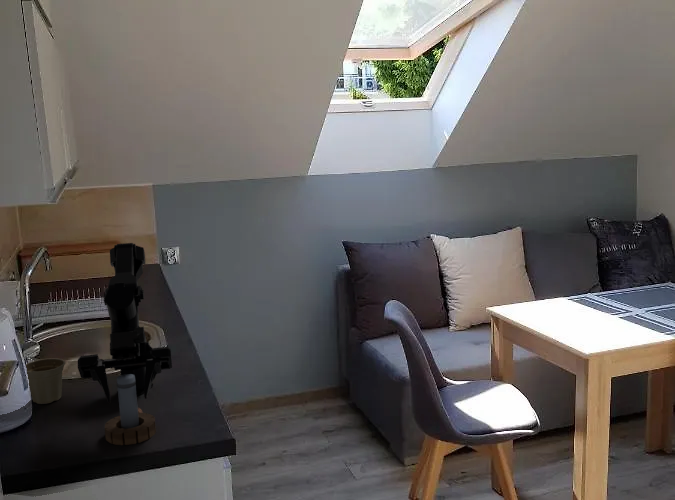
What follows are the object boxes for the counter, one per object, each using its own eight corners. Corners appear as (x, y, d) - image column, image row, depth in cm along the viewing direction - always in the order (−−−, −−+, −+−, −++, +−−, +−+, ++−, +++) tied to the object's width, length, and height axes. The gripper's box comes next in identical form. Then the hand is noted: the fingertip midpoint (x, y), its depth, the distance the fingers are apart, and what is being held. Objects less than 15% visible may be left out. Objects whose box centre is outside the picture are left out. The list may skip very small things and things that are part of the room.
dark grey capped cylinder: (121, 432, 145) (115, 375, 143) (139, 428, 146) (134, 372, 144) (122, 439, 142) (117, 381, 139) (141, 435, 143) (136, 378, 141)
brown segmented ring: (122, 421, 150) (121, 410, 149) (164, 425, 147) (163, 414, 147) (96, 442, 140) (95, 431, 140) (140, 447, 138) (139, 435, 137)
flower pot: (64, 388, 170) (60, 355, 169) (72, 400, 162) (68, 366, 161) (23, 397, 165) (19, 363, 164) (29, 410, 157) (25, 375, 156)
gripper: (73, 319, 141) (73, 389, 132) (167, 310, 145) (172, 378, 137) (81, 344, 150) (81, 411, 141) (169, 335, 154) (174, 400, 146)
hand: (127, 400), depth 141 cm, fingers open, 7 cm apart
